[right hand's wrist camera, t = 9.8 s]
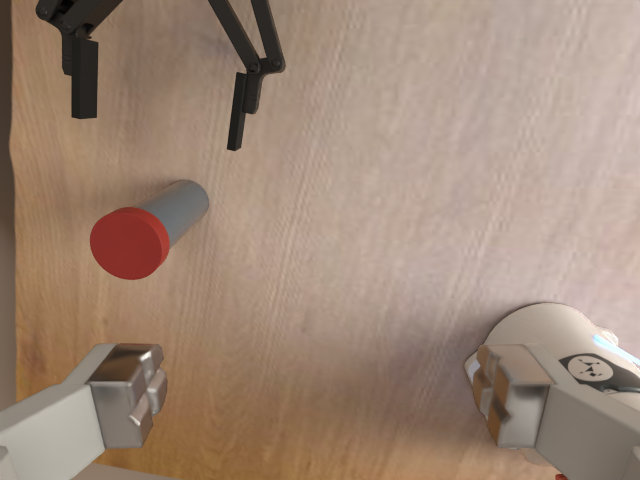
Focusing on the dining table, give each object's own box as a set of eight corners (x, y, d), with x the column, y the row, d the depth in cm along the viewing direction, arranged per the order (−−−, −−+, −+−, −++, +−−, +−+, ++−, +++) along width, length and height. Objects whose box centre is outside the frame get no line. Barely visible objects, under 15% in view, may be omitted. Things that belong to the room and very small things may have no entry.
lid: (87, 242, 33) (75, 249, 32) (125, 192, 32) (115, 197, 30) (144, 284, 35) (136, 292, 33) (183, 237, 33) (176, 245, 32)
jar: (157, 202, 46) (85, 247, 32) (182, 170, 45) (119, 202, 31) (192, 229, 47) (137, 284, 33) (217, 199, 46) (171, 243, 32)
